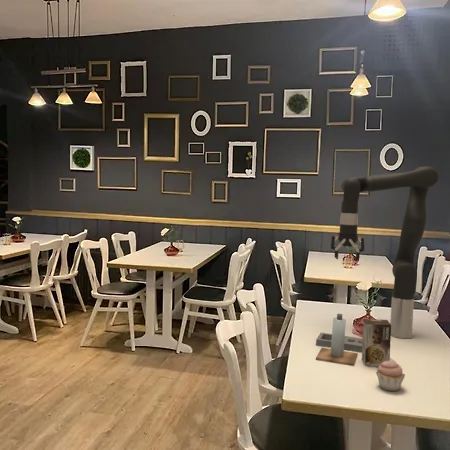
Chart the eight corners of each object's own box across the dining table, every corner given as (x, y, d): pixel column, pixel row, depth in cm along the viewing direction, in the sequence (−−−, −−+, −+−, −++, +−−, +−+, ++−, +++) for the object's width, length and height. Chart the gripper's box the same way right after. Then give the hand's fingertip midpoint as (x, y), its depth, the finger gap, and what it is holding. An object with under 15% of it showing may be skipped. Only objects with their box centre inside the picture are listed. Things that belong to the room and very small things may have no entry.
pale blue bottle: (343, 354, 184) (346, 313, 183) (342, 358, 180) (345, 316, 179) (331, 352, 186) (334, 312, 185) (329, 356, 182) (332, 314, 180)
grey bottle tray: (371, 345, 198) (371, 338, 197) (368, 353, 188) (369, 345, 188) (320, 338, 205) (320, 331, 205) (315, 345, 196) (316, 338, 196)
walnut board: (357, 355, 186) (357, 353, 186) (353, 365, 175) (353, 363, 175) (321, 349, 191) (321, 347, 191) (315, 359, 180) (315, 357, 180)
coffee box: (385, 361, 181) (387, 319, 179) (389, 367, 174) (392, 324, 173) (360, 359, 182) (363, 318, 180) (364, 366, 175) (366, 323, 174)
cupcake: (380, 379, 164) (382, 350, 163) (408, 387, 158) (410, 357, 157) (370, 387, 157) (371, 358, 156) (398, 396, 151) (400, 365, 150)
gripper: (331, 223, 208) (329, 259, 209) (364, 225, 203) (362, 262, 204) (333, 221, 215) (331, 257, 216) (366, 223, 210) (364, 260, 211)
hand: (346, 259), depth 210 cm, fingers open, 8 cm apart
